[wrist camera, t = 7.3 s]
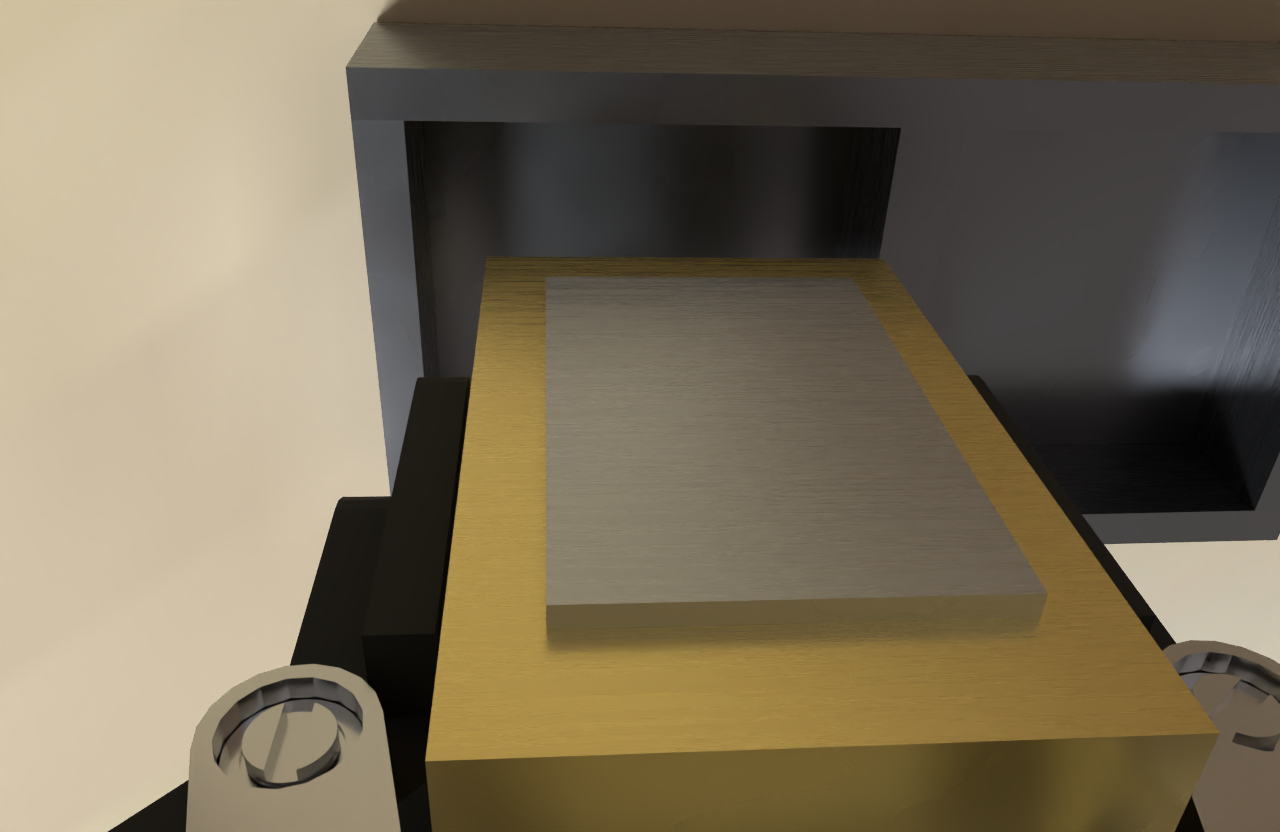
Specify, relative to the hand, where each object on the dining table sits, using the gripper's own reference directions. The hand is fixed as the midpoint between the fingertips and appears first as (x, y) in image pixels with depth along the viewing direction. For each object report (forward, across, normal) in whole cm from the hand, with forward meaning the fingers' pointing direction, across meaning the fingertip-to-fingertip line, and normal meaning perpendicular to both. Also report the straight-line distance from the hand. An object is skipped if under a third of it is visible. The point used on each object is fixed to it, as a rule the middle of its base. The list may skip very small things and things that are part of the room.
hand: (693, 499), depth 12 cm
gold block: (+2, 0, 0) cm, 2 cm away
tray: (+6, -3, 0) cm, 7 cm away
